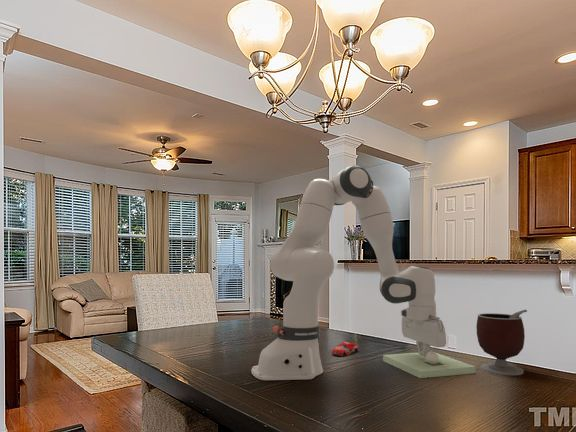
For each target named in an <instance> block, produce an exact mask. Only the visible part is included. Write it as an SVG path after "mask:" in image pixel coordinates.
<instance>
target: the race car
mask: <svg viewBox="0 0 576 432" xmlns="http://www.w3.org/2000/svg"><path fill="white" fill-rule="evenodd" d="M358 352H359V345H358V344H357V343H354V342H348V341H344V342H341V343H339V344H337V345H336V347H334V348H333V349H332V350H331V355H333V356H338V357H346V356H348V355H351V354H352V355H353V354H357V353H358Z"/></svg>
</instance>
